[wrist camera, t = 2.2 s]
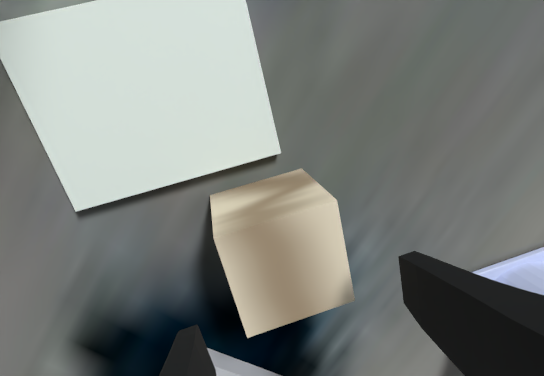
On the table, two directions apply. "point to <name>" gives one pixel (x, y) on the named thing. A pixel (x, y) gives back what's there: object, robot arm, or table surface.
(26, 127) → the table surface
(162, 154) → the sage pad
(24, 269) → the table surface
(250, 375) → the divider screen
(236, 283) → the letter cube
